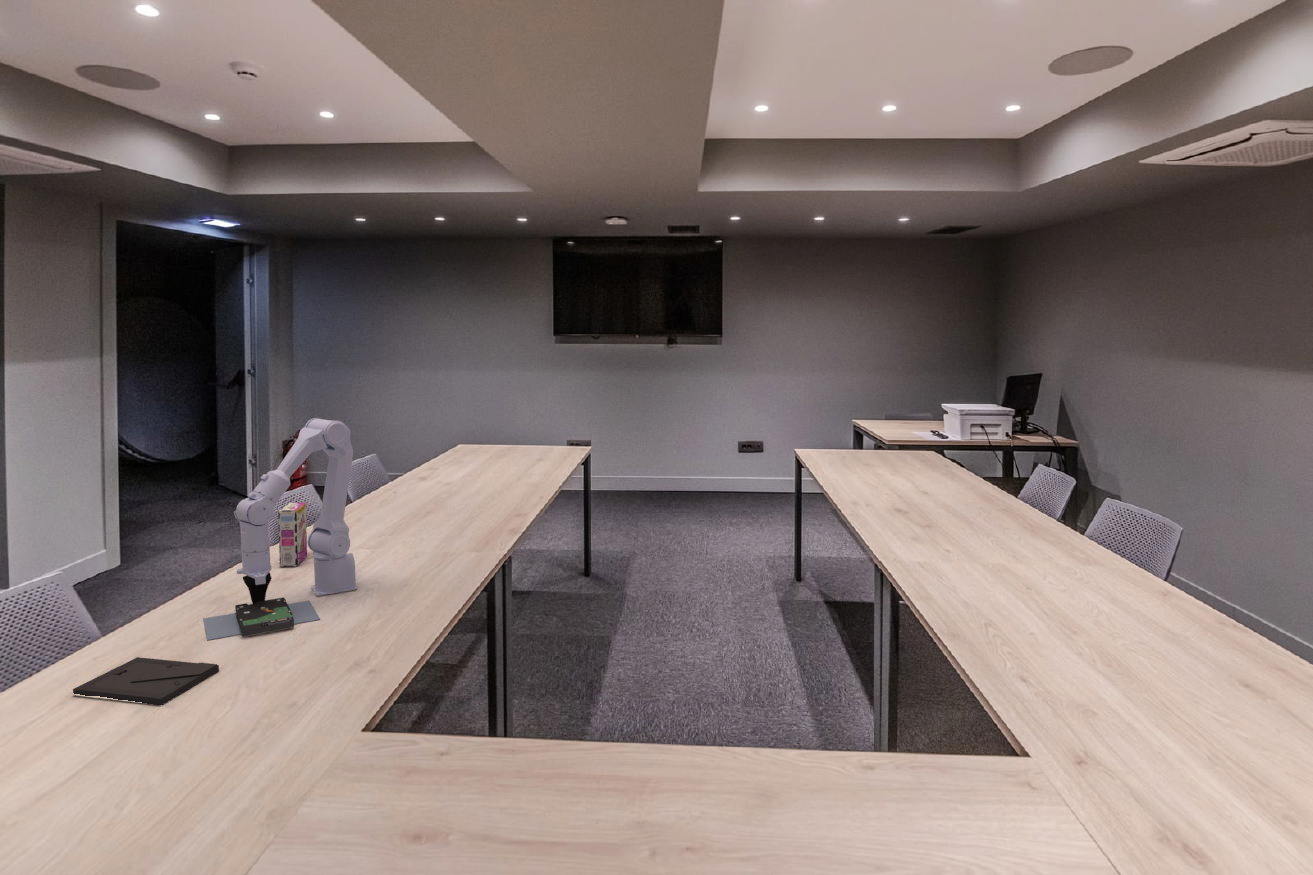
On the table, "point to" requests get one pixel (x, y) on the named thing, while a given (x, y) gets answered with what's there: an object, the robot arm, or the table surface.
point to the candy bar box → (292, 534)
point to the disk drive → (264, 616)
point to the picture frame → (148, 680)
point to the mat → (230, 627)
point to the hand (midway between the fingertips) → (258, 605)
